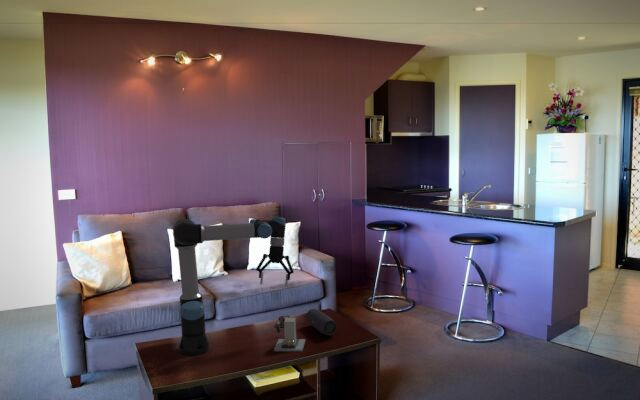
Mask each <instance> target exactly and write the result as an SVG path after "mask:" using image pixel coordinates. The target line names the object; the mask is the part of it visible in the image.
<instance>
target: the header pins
mask: <svg viewBox="0 0 640 400" xmlns="http://www.w3.org/2000/svg"><path fill="white" fill-rule="evenodd" d="M281 348H296V346H294V340H292V346H290V340H287V346H285V340H283V345H282V347H281Z"/></svg>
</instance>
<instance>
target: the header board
mask: <svg viewBox="0 0 640 400" xmlns="http://www.w3.org/2000/svg"><path fill="white" fill-rule="evenodd" d="M283 340H285V338H278V340H277V342H276V344H275V346H274V349H273V352H303V350H304V348H305V347H304V346H305V343H306V338H296V342H295V345H294V346H296V348H281V347H282V345H283ZM285 346H287V345H285ZM290 346H292V345H290Z"/></svg>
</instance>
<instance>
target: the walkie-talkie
mask: <svg viewBox="0 0 640 400" xmlns="http://www.w3.org/2000/svg"><path fill="white" fill-rule="evenodd" d="M286 318H291V316H290V315H281V316H279V317H278V320H277V321H276V328H278V331H279V332H280V331H281V330H282V328H284V321H285V319H286Z"/></svg>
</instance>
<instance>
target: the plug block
mask: <svg viewBox="0 0 640 400" xmlns="http://www.w3.org/2000/svg"><path fill="white" fill-rule="evenodd" d="M296 318H297V317H290V318H286V319H285V321H284V327H283V328H284V329H283V330H284V339H285V345H287V340H290V345H292V340H294V345H295V342H296V339H297V321H296V320H297V319H296Z"/></svg>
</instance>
